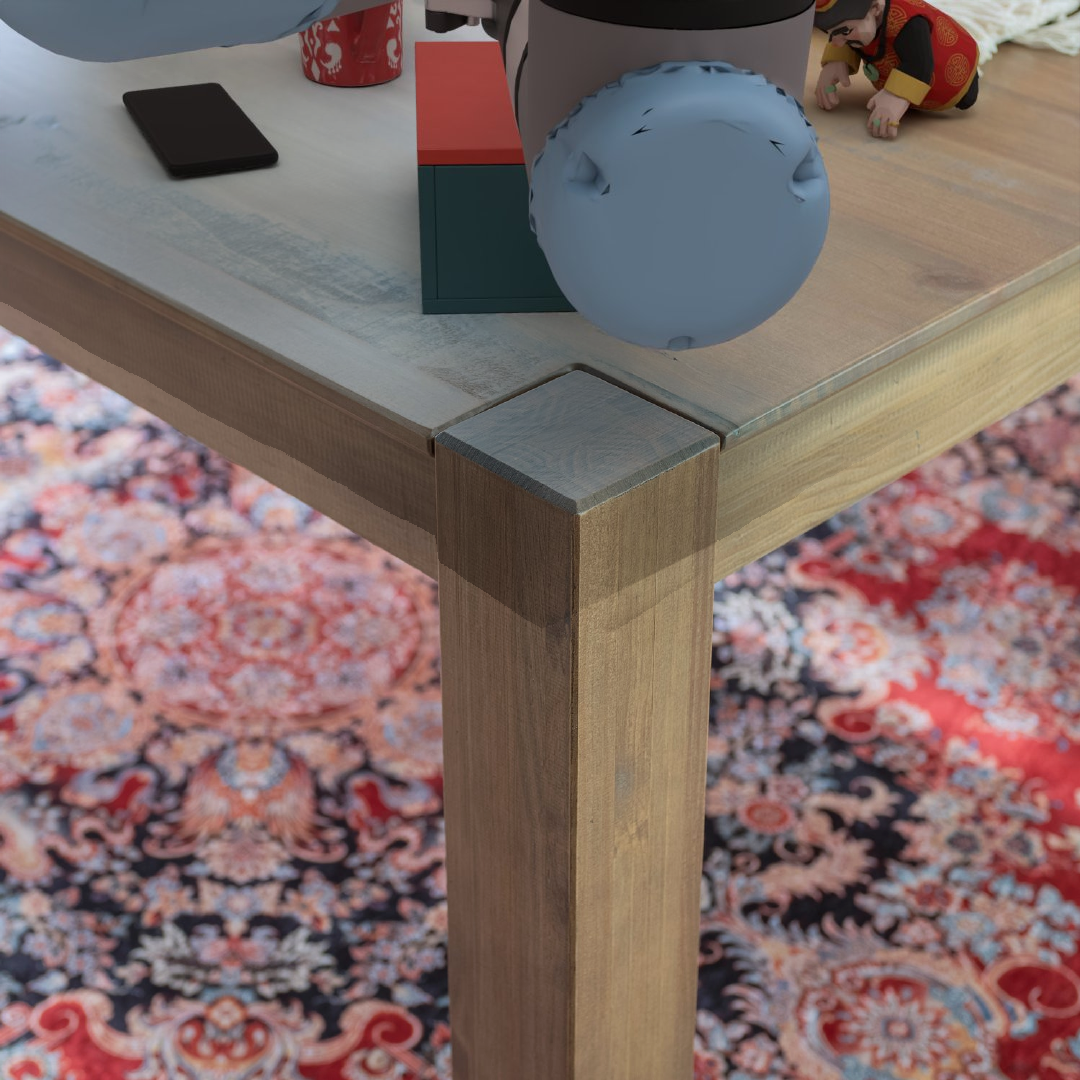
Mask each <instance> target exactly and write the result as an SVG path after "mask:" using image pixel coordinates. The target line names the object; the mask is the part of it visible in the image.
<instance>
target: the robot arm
mask: <svg viewBox="0 0 1080 1080" xmlns="http://www.w3.org/2000/svg"><path fill="white" fill-rule="evenodd" d="M394 1H398V0H0V20H1V21H2V22H3V23H4V24H6V26H7V27H9V28H10V29H12V30H13V31H14V32H16V33H17V34H18V35H21V36H23V37H24V38H25V39H26V40H29V41H30V42H31V43H34V45H37V46H39V47H40V48H42V49H45V50H46V51H49V52H51V53H53V54H55V55H59V56H62V57H66V58H69V59H74V60H77V61H81V62H87V63H89V62H90V63H107V64H108V63H122V62H128V61H135V60H141V59H149V58H157V57H162V56H169V55H176V54H183V53H188V52H195V51H200V50H206V49H207V50H208V49H212V48H213V49H214V48H225V49H227V48H228V49H229V48H232V47H238V46H243V45H253V44H255V45H257V44H266V43H271V42H276V41H278V40H281V39H284V38H286V37H290V36H292V35H295V34H299V32H302V31H306V30H308V29H309V28H310V27H311V26H312V25H313V24H314V23H317V22H321V21H325V20H328V19H332V18H336V17H339V16H343V15H347V14H350V13H354V12H358V11H361V10H365V9H369V8H372V7H376V6H380V5H383V4H387V3H391V2H394ZM423 1H424V22H425V24H424V25H425V29H426V30H427V31H430V32H434V33H436V34H447V33H448V32H452V31H456V30H457V29H459V28H462V27H463V26H467V27H477V26H479V25H480V23H481V27H482V29H483V32H485V34H486V35H487V36H489V37H490V38H492V39H493V40H494V41H499V44H500V49H501V54H502V59H503V63H504V68H505V73H506V78H507V83H508V88H509V93H510V97H511V102H512V107H513V112H514V117H515V121H516V126H517V130H518V132H519V134H520V138H521V143H522V148H523V154H524V160H525V165H526V171H527V177H528V183H529V189H530V192H529V219H530V226H531V230H532V231H533V232H534V233H535V234H536V235H537V241H538V244H539V247H540V248H541V249H542V250H543V251H544V254H545V256H546V259H547V261H548V263H549V266H550V268H551V271H552V273H553V276H554V278H555V280H556V282H557V284H558V286H559V287H560V289H561V291H562V292H563V294H564V295H565V296H566V298H567V299H568V301H569V302H570V303H571V304H572V305H573V306H574V307H575V309H576V310H577V311H576V312H578V313H579V314H580V315H581V316H582V317H583V318H584V319H586V320H587V321H588V322H589V323H590V324H592V325H593V326H594V327H596V328H597V329H599V330H600V331H602V332H604V333H605V334H607V335H609V336H611V337H613V338H615V339H618V340H620V341H623V342H625V343H628V344H630V345H631V344H632V345H633V346H634V345H635V346H637V347H642V348H645V349H653V350H654V349H655V350H666V351H672V352H676V353H677V352H683V351H687V350H696V349H697V350H698V349H704V348H709V347H712V346H716V345H720V344H723V343H727V342H729V341H732V340H734V339H736V338H739V337H741V336H743V335H745V334H748V333H749V332H751V331H753V330H755V329H756V328H758V327H759V326H761V325H763V324H764V323H765V322H767V321H768V320H769V319H771V318H772V317H773V316H775V315H776V314H777V313H778V312H779V311H780V310H781V309H782V308H783V307H785V306H786V305H787V304H788V303H789V302H791V300H792V299H793V298H794V296H796V294H797V293H798V292H799V290H800V289H801V287H802V286H803V285H804V284H805V283H806V281H807V279H808V278H809V276H810V274H811V273H812V271H813V269H814V267H815V265H816V264H817V261H818V259H819V257H820V254H821V252H822V250H823V247H824V244H825V241H826V237H827V234H828V229H829V222H830V216H831V215H830V214H831V188H830V181H829V176H828V175H829V174H828V172H827V171H826V168H825V167H826V166H825V164H824V158H823V156H822V154H821V151H820V148H819V146H818V141H819V138H820V137H819V135H818V134H817V132H816V130H815V127H814V126H813V124H812V123H811V122H810V120H809V119H808V118H807V117H806V113H805V112H806V111H805V108H804V107H803V102H804V94H805V87H806V81H807V73H808V64H809V58H810V51H811V43H812V36H813V29H814V25H813V22H814V14H815V6H816V0H423Z"/></svg>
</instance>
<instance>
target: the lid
mask: <svg viewBox="0 0 1080 1080" xmlns="http://www.w3.org/2000/svg"><path fill="white" fill-rule="evenodd" d="M414 68H415V69H414V71H415V75H414V76H415V79H414V80H415V122H416V123H415V124H416V125H415V126H416V127H415V128H416V163H418V164H419V165H442V164H525V160H524V154H523V148H522V143H521V138H520V134H519V132H518V130H517V126H516V121H515V117H514V112H513V107H512V102H511V97H510V93H509V88H508V83H507V78H506V73H505V68H504V63H503V59H502V54H501V49H500V44H499V41H498V40H494V41H490V40H489V41H488V40H486V41H484V40H483V41H482V40H481V41H476V40H473V41H461V40H460V41H458V40H457V41H451V40H450V41H449V40H447V41H445V40H443V41H414Z"/></svg>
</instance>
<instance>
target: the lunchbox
mask: <svg viewBox="0 0 1080 1080" xmlns="http://www.w3.org/2000/svg"><path fill="white" fill-rule="evenodd" d="M416 163H417V162H416ZM416 165H417V166H416V167H417V194H418V225H419V227H418V228H419V254H420V255H419V256H420V286H421V287H420V288H421V289H420V291H421V313H422V314H471V313H472V314H473V313H475V314H477V313H481V314H483V313H531V312H533V313H535V312H537V313H539V312H578V311H577V310H576V309H575V307H574V306H573V305H572V304H571V303H570V302H569V301H568V299H567V298H566V296H565V295H564V294H563V292H562V291H561V289H560V287H559V286H558V284H557V282H556V280H555V278H554V276H553V273H552V271H551V268H550V266H549V263H548V261H547V259H546V256H545V254H544V251H543V250H542V249H541V248H540V247H539V244H538V241H537V235H536V234H535V233H534V232H533V231H532V230H531V226H530V219H529V192H530V189H529V183H528V177H527V171H526V165H525V164H442V165H419V164H418V163H417V164H416Z"/></svg>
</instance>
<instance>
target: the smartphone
mask: <svg viewBox="0 0 1080 1080" xmlns="http://www.w3.org/2000/svg"><path fill="white" fill-rule="evenodd" d="M121 99H122V103H123V104H124V106H125V108H126V109H127V111H128V112H129V114H130V115H131V117H132V118H133V120H134V122H135V123H136V125H137V126H138V127H139V129H140V131H141V132H142V134H143V135H144V136H145V138H146V140H147V141H148V143H149V145H150V146H151V147H152V149H153V150H154V152H155V154H156V155H157V156H158V158H159V160H160V161H161V162H162V164H163V165H164V167H165V169H167V171H168V173H169V174H170V175H171V176H173V177H178V178H179V177H180V178H181V177H189V176H197V175H204V174H205V175H206V174H212V173H219V172H228V171H236V170H242V169H252V168H259V167H267V166H273V165H275V164H277V162H278V161H279V158H280V157H279V153H278V150H276V148H275V147H274V146H273V145H272V143H271V142H270V141H269V140H268V139H267V137H266V136H265V135H264V134H263V132H262V131H260V129H259V128H258V127H257V125H256V124H255V123H254V122H253V121H252V119H250V117H249V116H248V115H247V114H246V112H245V111H244V110H243V109H242V108H241V107H240V105H238V103H237V102H236V101H235V100H234V99H233V97H232V96H231V95H230V94H229V93H228V92H227V90H226V89H225V88H224V87H223V86H222V85H221V84H220V83H218V82H205V83H204V82H203V83H196V84H195V83H194V84H185V85H176V86H167V87H158V88H157V87H156V88H146V89H137V90H129V91H125V92H124V93H123V95H122V98H121Z"/></svg>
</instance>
